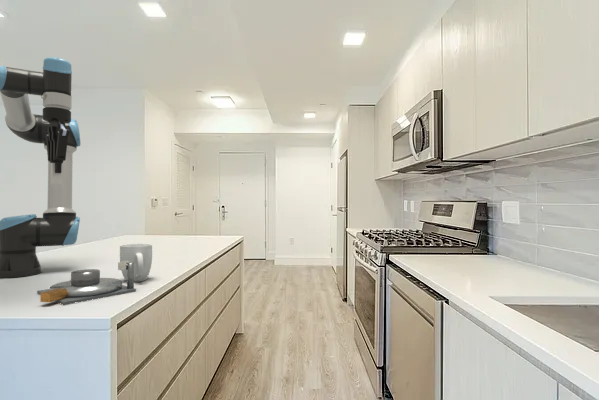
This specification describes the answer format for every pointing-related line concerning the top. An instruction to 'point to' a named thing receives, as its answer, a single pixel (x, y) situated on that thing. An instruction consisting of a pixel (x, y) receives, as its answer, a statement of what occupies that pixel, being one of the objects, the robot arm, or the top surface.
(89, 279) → the dark grey bowl
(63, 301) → the base plate
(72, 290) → the turntable
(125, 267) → the post
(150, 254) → the mug
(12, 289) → the top surface
